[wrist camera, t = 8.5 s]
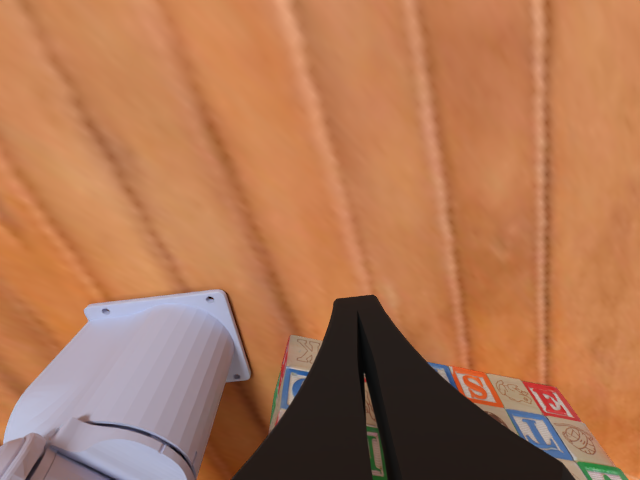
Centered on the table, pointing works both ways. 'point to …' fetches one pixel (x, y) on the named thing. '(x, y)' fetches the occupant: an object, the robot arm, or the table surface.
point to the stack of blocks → (487, 393)
